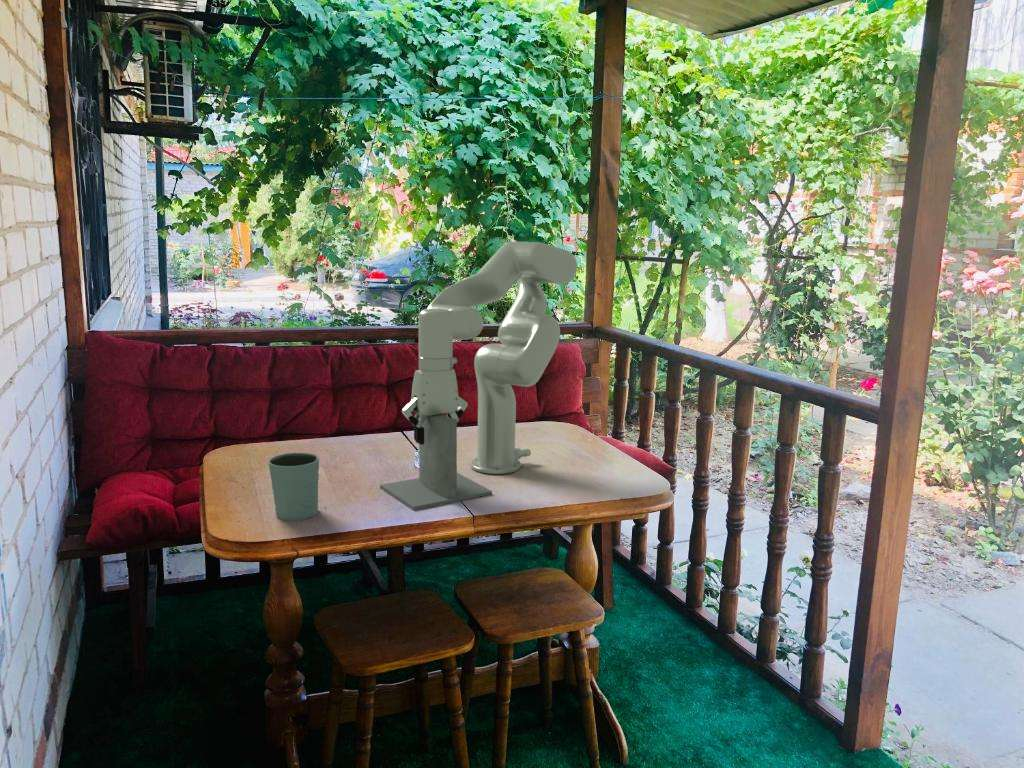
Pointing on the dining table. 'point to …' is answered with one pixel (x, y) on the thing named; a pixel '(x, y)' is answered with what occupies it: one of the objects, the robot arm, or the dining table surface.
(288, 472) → the green cup
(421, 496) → the rubber mat
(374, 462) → the dining table surface
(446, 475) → the hip flask
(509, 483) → the dining table surface
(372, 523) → the dining table surface
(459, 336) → the robot arm
